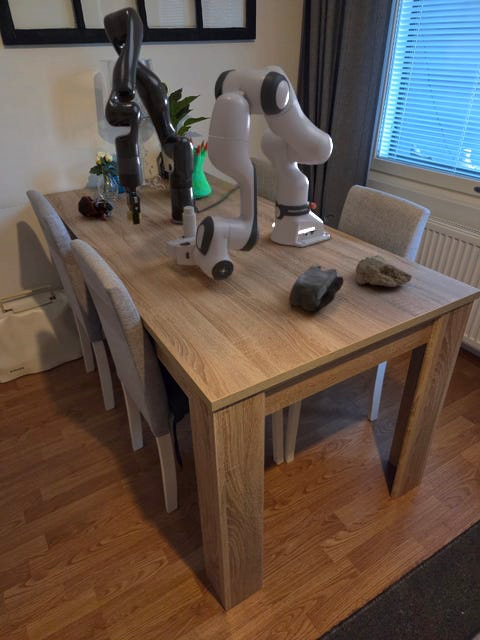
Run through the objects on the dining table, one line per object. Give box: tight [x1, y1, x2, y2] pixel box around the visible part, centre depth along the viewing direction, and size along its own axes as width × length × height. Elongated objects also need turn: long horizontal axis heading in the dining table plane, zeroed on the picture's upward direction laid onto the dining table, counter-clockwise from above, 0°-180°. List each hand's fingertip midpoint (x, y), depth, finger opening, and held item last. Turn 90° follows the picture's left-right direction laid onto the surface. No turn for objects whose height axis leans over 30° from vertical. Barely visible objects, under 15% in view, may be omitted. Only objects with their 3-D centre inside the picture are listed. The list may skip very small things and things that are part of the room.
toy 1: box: [77, 195, 115, 221], centre depth 185 cm, size 12×9×15 cm
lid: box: [126, 210, 143, 222], centre depth 150 cm, size 5×5×2 cm
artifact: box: [355, 255, 413, 288], centre depth 137 cm, size 18×7×15 cm
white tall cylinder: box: [182, 206, 197, 238], centre depth 150 cm, size 4×4×17 cm
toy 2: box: [168, 137, 212, 200], centre depth 210 cm, size 20×20×25 cm
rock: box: [288, 265, 345, 313], centre depth 125 cm, size 18×11×8 cm, turn 152°
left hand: (135, 221), depth 151 cm, fingers closed on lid, 4 cm apart
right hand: (189, 236), depth 151 cm, fingers closed on white tall cylinder, 4 cm apart
